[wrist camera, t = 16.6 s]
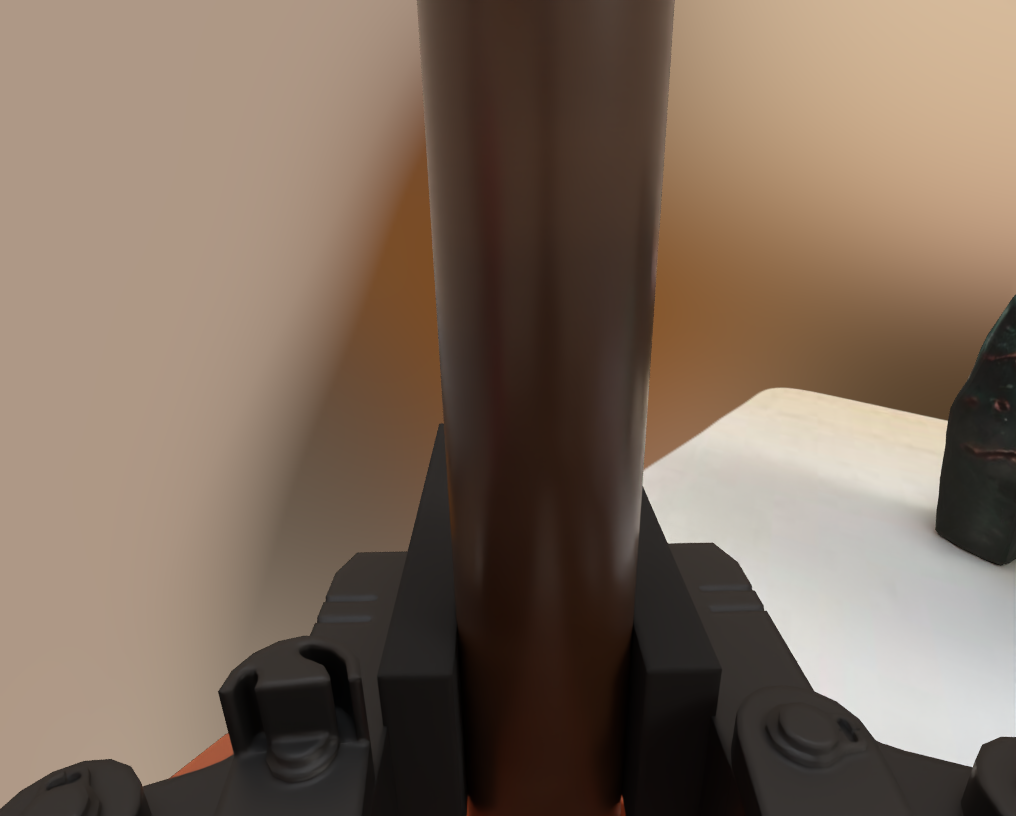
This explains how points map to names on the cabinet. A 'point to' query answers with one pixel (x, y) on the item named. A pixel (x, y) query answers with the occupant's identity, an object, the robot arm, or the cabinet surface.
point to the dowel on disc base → (545, 372)
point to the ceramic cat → (983, 452)
